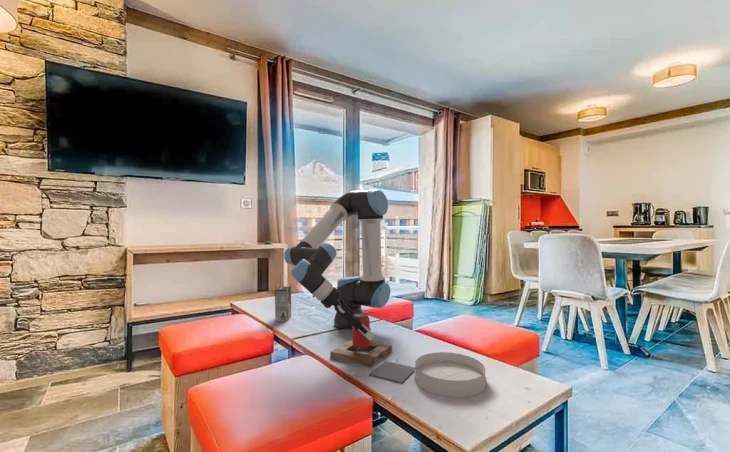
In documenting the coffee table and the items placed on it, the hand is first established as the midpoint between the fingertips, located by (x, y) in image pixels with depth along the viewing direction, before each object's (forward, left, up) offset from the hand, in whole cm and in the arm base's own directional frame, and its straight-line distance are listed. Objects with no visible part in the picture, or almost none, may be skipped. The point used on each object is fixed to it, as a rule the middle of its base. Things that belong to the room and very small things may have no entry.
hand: (370, 334), depth 135 cm
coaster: (+10, +14, -8) cm, 19 cm away
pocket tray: (+2, -3, -8) cm, 8 cm away
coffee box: (-19, -63, -8) cm, 66 cm away
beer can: (+2, -3, -4) cm, 6 cm away
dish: (+6, +32, -8) cm, 34 cm away
